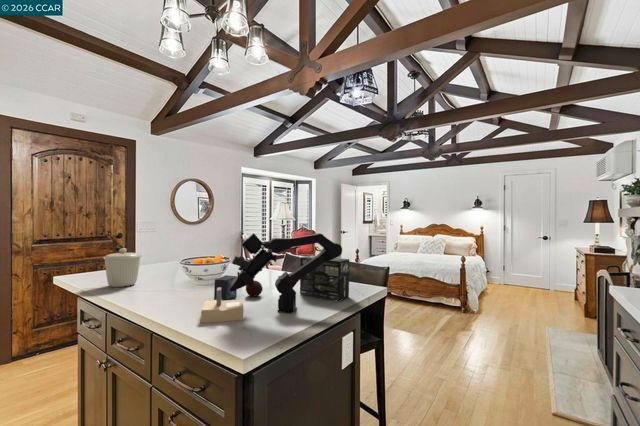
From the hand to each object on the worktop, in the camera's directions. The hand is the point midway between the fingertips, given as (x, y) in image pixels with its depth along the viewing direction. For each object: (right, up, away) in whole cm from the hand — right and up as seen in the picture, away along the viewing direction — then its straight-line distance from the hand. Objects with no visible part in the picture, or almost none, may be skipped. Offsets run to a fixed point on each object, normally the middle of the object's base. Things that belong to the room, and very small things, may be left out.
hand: (230, 290), depth 119 cm
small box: (-9, -10, +22) cm, 26 cm away
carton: (-2, -10, -1) cm, 10 cm away
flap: (-6, -5, -2) cm, 9 cm away
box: (+38, -11, +30) cm, 49 cm away
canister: (-76, -10, +50) cm, 92 cm away
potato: (+3, -10, +28) cm, 30 cm away
